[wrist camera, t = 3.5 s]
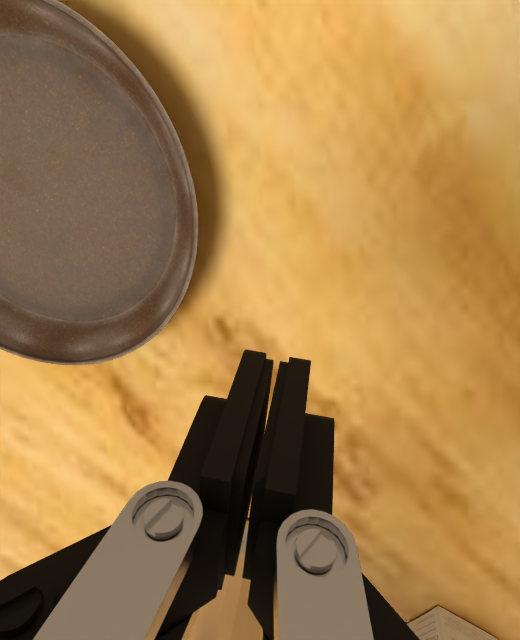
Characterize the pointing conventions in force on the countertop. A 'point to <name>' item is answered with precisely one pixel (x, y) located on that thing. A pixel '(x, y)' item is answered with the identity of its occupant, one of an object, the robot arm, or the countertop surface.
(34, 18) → the plant saucer
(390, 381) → the countertop surface
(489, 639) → the supplement box
